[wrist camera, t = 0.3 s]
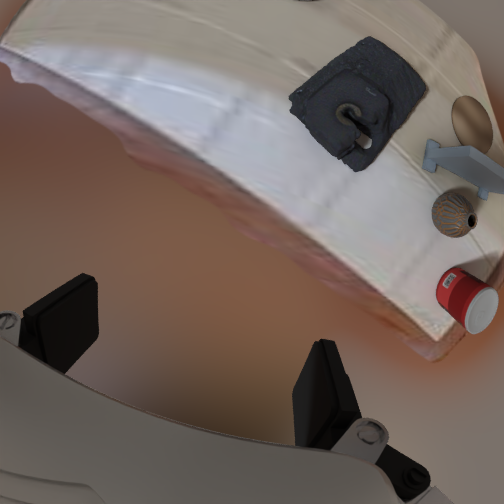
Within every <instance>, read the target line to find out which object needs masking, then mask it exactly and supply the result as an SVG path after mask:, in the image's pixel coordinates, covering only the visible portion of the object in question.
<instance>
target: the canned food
mask: <svg viewBox="0 0 504 504" xmlns="http://www.w3.org/2000/svg"><path fill="white" fill-rule="evenodd" d="M436 297H437V300H438V303H439V304H440V306H441V307H442V308H444V309H445V310H446V311H447V312H448V313H449V314H450V315H451V316H452V317H453V318H454V319H455V320H456V321H458V322H459V323H460V324H461V325H462V326H463V327H464V328H465V329H466V330H467V331H468V332H470V333H472V334H477V333H479V332H481V331H483V330H484V329H485V328H486V327H487V326H488V325H489V324H490V322H491V321H492V319H493V317H494V315H495V313H496V310H497V306H498V294H497V292H496V290H494V289H493V288H492V287H491V286H489V285H488V284H486V283H484V282H483V281H481V280H480V279H478V278H476V277H475V276H473V275H471V274H470V273H468V272H466V271H465V270H463V269H461V268H451V269H449V270H448V271H446V272H445V273H444V274H443V276H442V277H441V279H440V280H439V283H438V285H437V289H436Z"/></svg>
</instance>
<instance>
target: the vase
mask: <svg viewBox="0 0 504 504" xmlns="http://www.w3.org/2000/svg"><path fill="white" fill-rule="evenodd" d="M432 220H433V223H434V225H435V226H436V228H437V229H438V230H439V231H440V232H441V233H442V234H444V235H446V236H449V237H453V238H458V237H462V236H464V235H466V234H467V233H468V232H469V231H470V230H471V229H474V228H475V227H476V225H477V216H476V214H475V213H474V210H473V208H472V205H471V204H470V202H469V201H468V200H467V199H466V198H464V197H463V196H461V195H459V194H456V193H446V194H443V195H441V196H440V197H438V198H437V199H436V201H435V202H434V204H433V207H432Z"/></svg>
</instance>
